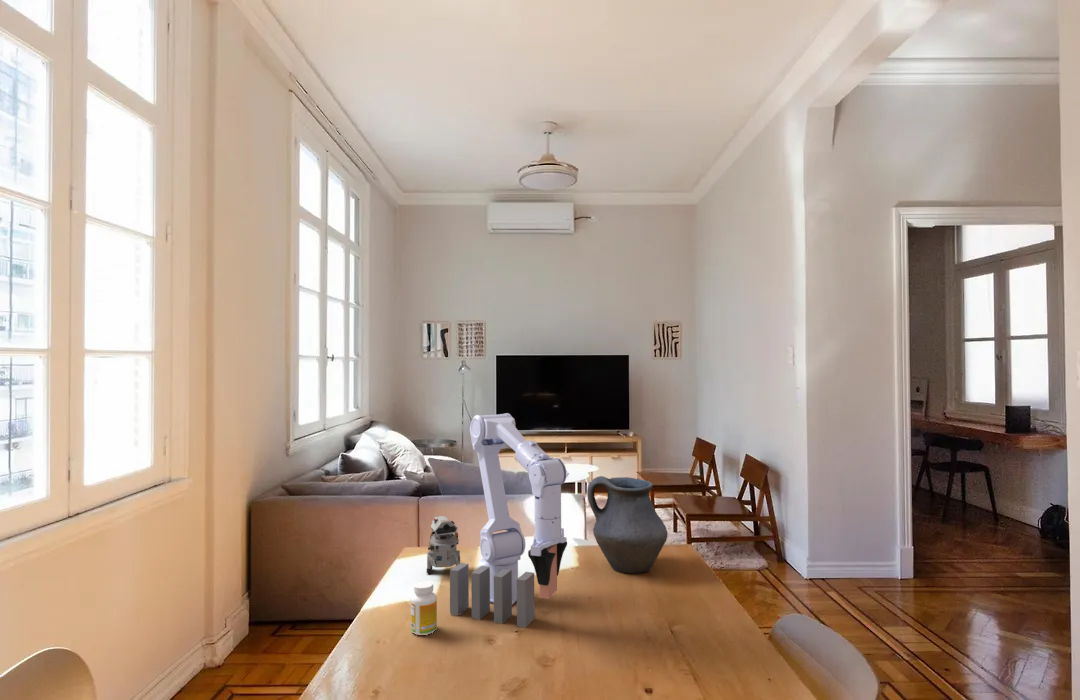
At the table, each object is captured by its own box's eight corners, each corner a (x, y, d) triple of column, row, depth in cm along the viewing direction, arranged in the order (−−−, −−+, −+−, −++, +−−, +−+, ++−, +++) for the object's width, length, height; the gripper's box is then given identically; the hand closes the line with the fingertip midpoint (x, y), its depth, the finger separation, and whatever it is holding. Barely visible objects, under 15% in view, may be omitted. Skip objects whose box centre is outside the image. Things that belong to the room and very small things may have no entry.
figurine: (424, 582, 153) (424, 524, 153) (428, 567, 164) (428, 513, 165) (459, 581, 154) (459, 523, 154) (461, 566, 165) (461, 512, 166)
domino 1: (450, 614, 133) (449, 569, 133) (461, 606, 138) (460, 562, 138) (457, 616, 132) (457, 570, 133) (468, 607, 137) (468, 563, 137)
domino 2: (471, 618, 131) (471, 572, 131) (482, 609, 136) (481, 565, 136) (479, 619, 130) (479, 574, 130) (489, 611, 135) (489, 566, 135)
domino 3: (493, 622, 129) (493, 576, 129) (503, 613, 134) (503, 568, 134) (502, 623, 128) (501, 577, 128) (511, 614, 133) (511, 569, 133)
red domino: (539, 597, 125) (539, 549, 125) (548, 588, 129) (548, 542, 130) (548, 598, 124) (548, 550, 124) (557, 590, 129) (556, 543, 129)
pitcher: (675, 581, 152) (674, 484, 153) (590, 581, 152) (589, 484, 153) (660, 555, 173) (659, 469, 173) (585, 556, 173) (584, 470, 174)
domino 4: (516, 626, 127) (516, 579, 127) (526, 617, 131) (525, 571, 132) (525, 627, 126) (525, 580, 126) (534, 618, 131) (534, 572, 131)
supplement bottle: (441, 627, 127) (441, 581, 127) (428, 638, 122) (428, 590, 122) (419, 623, 128) (419, 578, 129) (405, 634, 123) (405, 587, 124)
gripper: (553, 526, 119) (553, 594, 119) (576, 509, 132) (576, 571, 132) (521, 523, 122) (521, 589, 121) (547, 507, 135) (547, 567, 135)
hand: (548, 579), depth 127 cm, fingers closed on red domino, 5 cm apart
